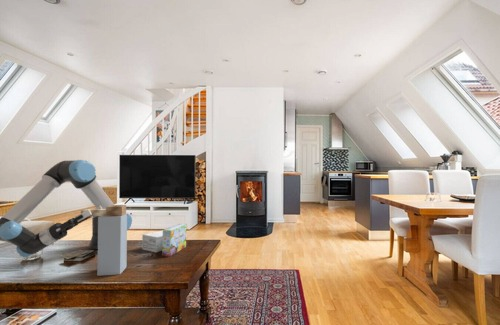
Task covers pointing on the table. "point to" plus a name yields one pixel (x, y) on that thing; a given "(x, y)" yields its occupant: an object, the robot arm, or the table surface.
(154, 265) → the table surface
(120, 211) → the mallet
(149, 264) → the table surface
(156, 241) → the supplement box
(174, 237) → the snack box
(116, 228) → the slate column
